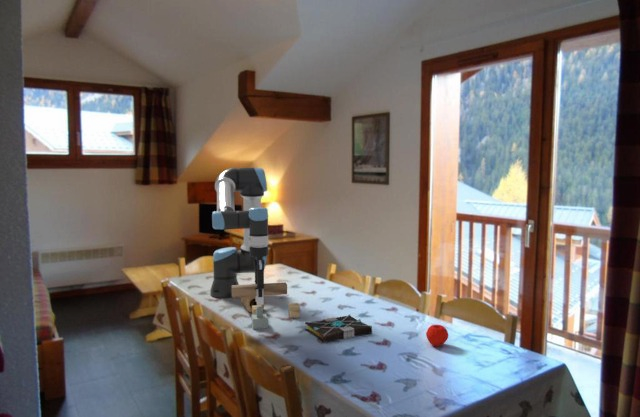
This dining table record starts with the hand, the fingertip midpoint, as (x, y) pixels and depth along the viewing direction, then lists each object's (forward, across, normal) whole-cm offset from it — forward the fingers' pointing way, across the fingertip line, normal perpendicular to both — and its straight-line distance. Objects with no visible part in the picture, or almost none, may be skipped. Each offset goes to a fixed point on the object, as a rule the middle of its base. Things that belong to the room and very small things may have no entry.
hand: (259, 302), depth 193 cm
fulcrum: (+10, 0, 0) cm, 10 cm away
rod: (-3, 0, 0) cm, 3 cm away
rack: (+10, -10, +8) cm, 16 cm away
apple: (+10, +35, +61) cm, 71 cm away
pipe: (+10, -25, -2) cm, 27 cm away
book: (+11, +13, +29) cm, 34 cm away
